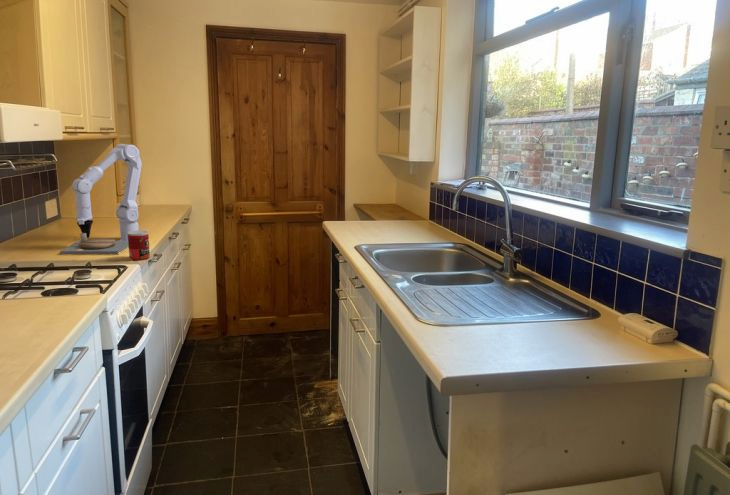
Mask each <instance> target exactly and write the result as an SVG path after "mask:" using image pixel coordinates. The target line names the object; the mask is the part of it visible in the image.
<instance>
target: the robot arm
mask: <svg viewBox="0 0 730 495" xmlns="http://www.w3.org/2000/svg"><path fill="white" fill-rule="evenodd" d="M121 160H123V161H124V162H125V163H126V165H127V166H128V168H127V169H128V170H127V174H126V175H127V176H126V179H125V185H124V186H125V187H124V192H123V199H122V200H121V201H120V202H119V206H118V208H117V209H116V212H115V214H116V216H117V218H118V220H119V231H120V234H119V235H120V239H118V240H117V241H128V232H130V231H137V230H140V229H139V228H140V226H139V222H138V219H139V211H138V210H139V205H138V204H137V202H136V201H137V196H138V189H139V183H140V178H141V173H142V172H141V170H142V165H143V163H142V160H141V157H140V150H139V149H138V148H137V146H136V145H134V144H127V143H126V144H124V143H118V144H117V145H116V146H115V147H113V148H112V149H111V151H110V152H109V153H107V155H106V156H105V157H104V158H103V159H102V160H101V161H100V162H99V163H98V164H97V165H96V166H95V165H93V166H89V167H88V168H87V170H86V171H85V172H84V173H83V174H81V175H79V178H75V179H73V182H72V184H71V189H72V190H73V192H74V199H75V208H76V216H74V219H75V220H77V222H76V225H77V226H78V227H79V229H80V232H81V233H86V235H87V239H90V237H91V229H92V225H93V223H94V220H93V214H92V203H91V201H92V200H91V193H90V192H91V191H92V188H93V186H94V185H95V184H96V183H97V182H98V181H100V179H101V178H102V177H103V176H104V171H106V170H107V169H108V168H110V166H112V165H113V164H114V163H116V162H117V161H121Z"/></svg>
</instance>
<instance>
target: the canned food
mask: <svg viewBox="0 0 730 495" xmlns="http://www.w3.org/2000/svg"><path fill="white" fill-rule="evenodd" d="M128 245H129V247H128V254H129V258H131V259H132V261H138V262H139V261H146V260H149V259H150V257H151V256H150V255H151V254H150V239H149V231H146V230H140V229H139V230H137V231H130V232H128ZM131 259H130V260H131Z"/></svg>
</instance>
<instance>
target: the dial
mask: <svg viewBox="0 0 730 495" xmlns="http://www.w3.org/2000/svg"><path fill="white" fill-rule="evenodd" d="M79 234H80V235H79V236H80V241H81V242H79V247H80V248H83V249H102V248H108V247H111V246H114V245H115V241H116V240H115V239H114V238H109V237H100V238H98V237H97V238H87V235H86V233H82V232H80V233H79Z"/></svg>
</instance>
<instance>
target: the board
mask: <svg viewBox="0 0 730 495" xmlns="http://www.w3.org/2000/svg"><path fill="white" fill-rule="evenodd" d="M79 242H81V240H77V241H76V242H74V243H72V244H70V245H69V246H67V247H66V248H64V249H61V250H60V255H61V254H118V253H119V252H121V251H122V250H124V249H125V248H126V249H128V248H129V247H128V246H129V245H128V241H118V240H115V245H114V246H111V247H108V248H102V249H83V248H80V247H79ZM127 247H128V248H127ZM126 249H125V250H126ZM125 250H124V251H125ZM122 252H123V251H122ZM122 252H121V253H122ZM118 255H119V254H118Z"/></svg>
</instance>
